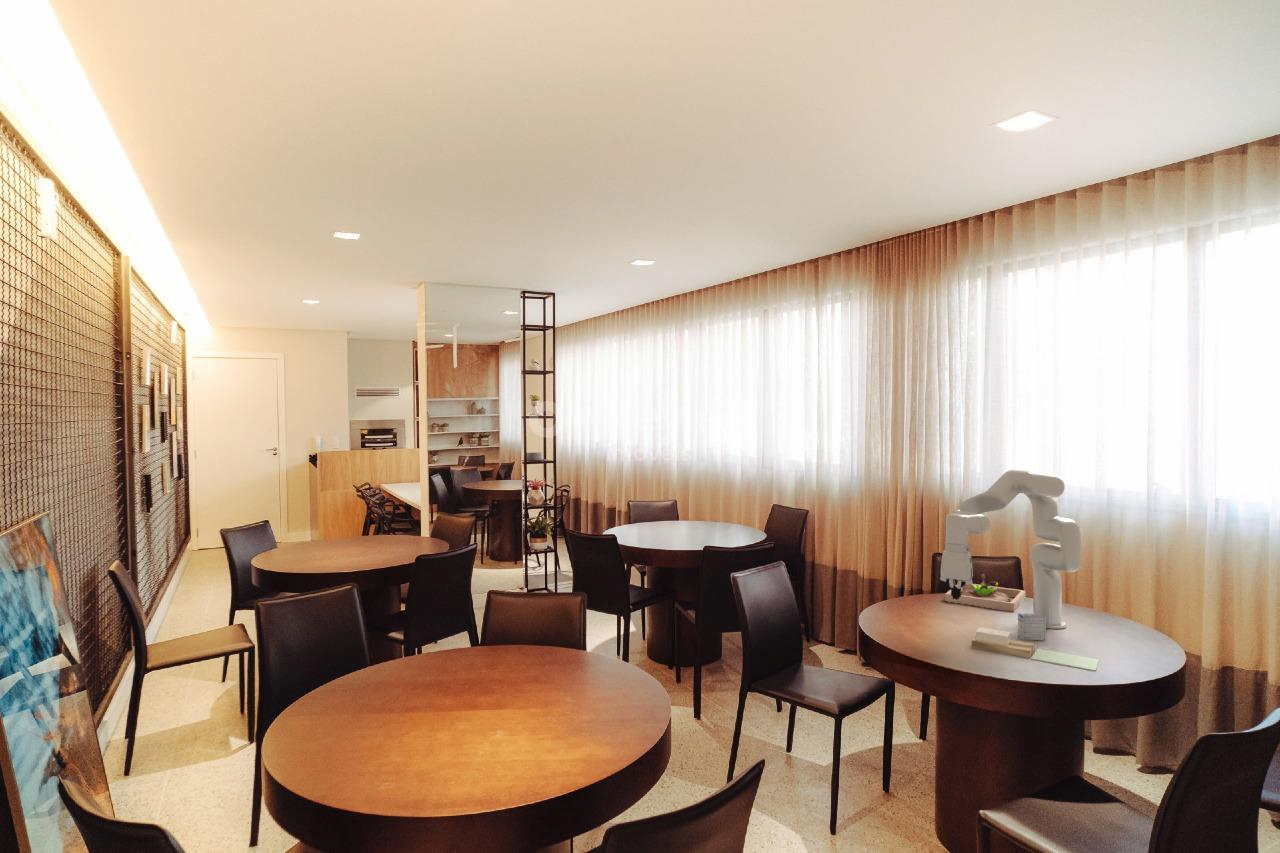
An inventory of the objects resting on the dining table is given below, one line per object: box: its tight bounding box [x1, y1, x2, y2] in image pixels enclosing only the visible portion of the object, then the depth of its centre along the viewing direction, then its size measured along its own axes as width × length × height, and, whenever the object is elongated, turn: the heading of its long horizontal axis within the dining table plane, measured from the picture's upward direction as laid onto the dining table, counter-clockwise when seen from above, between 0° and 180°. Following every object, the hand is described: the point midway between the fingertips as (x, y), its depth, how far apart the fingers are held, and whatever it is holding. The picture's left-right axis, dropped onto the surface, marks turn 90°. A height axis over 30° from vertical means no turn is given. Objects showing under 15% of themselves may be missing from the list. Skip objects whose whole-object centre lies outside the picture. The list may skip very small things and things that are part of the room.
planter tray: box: [944, 583, 1026, 613], centre depth 304 cm, size 27×27×4 cm
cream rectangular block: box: [975, 626, 1012, 645], centre depth 241 cm, size 6×10×3 cm, turn 52°
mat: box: [1030, 648, 1100, 672], centre depth 228 cm, size 12×18×1 cm, turn 52°
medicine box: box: [1017, 612, 1047, 641], centre depth 251 cm, size 8×4×9 cm, turn 84°
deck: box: [971, 636, 1036, 659], centre depth 239 cm, size 10×18×2 cm, turn 52°
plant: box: [961, 573, 1011, 602], centre depth 305 cm, size 20×20×11 cm
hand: (955, 598), depth 248 cm, fingers closed
